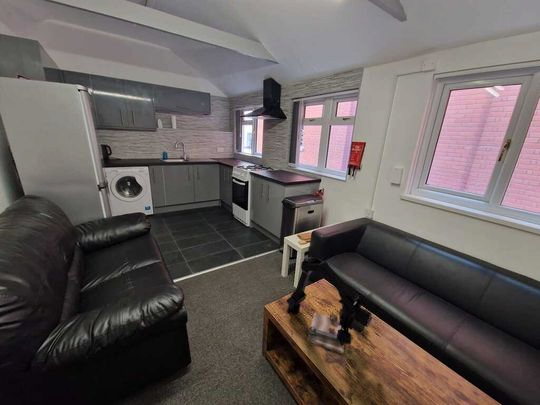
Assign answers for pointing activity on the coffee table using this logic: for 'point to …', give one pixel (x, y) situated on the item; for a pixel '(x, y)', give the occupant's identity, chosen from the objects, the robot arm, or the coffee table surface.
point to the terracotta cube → (331, 328)
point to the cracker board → (323, 324)
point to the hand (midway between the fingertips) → (342, 337)
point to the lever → (323, 334)
